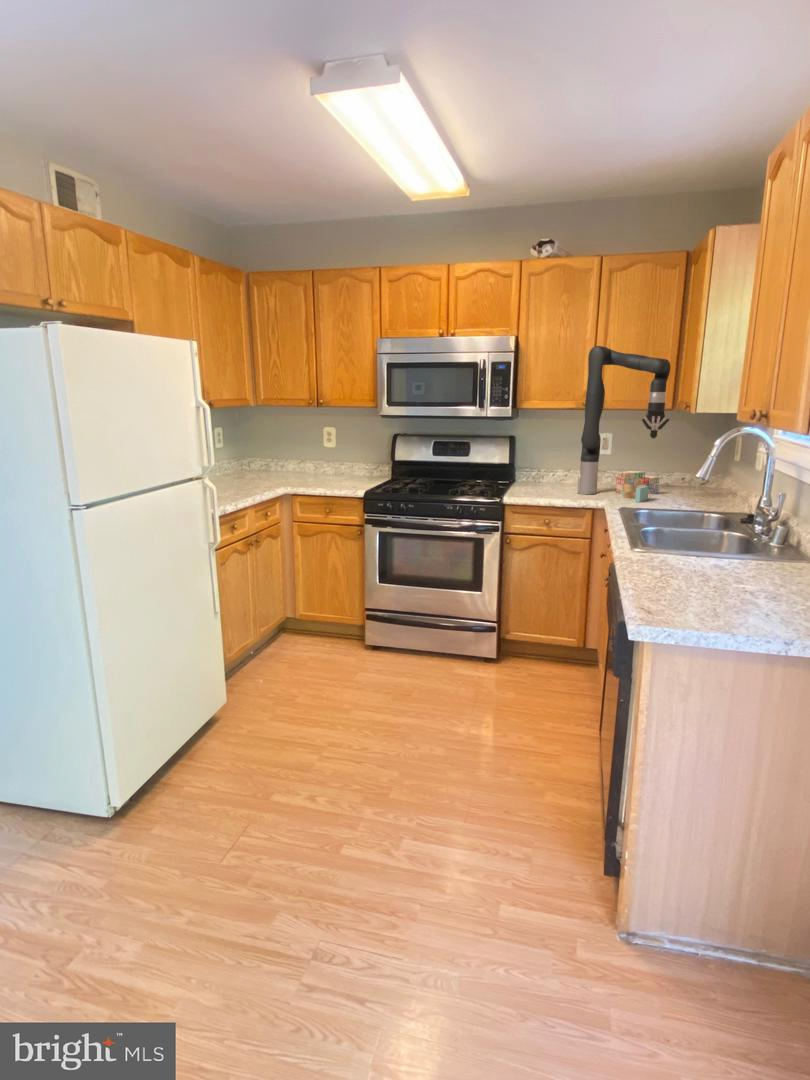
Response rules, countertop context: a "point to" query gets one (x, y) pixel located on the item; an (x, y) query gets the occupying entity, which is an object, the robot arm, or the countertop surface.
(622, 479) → the stack of blocks
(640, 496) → the fence free panel
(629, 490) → the fence fixed panel
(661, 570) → the countertop surface
